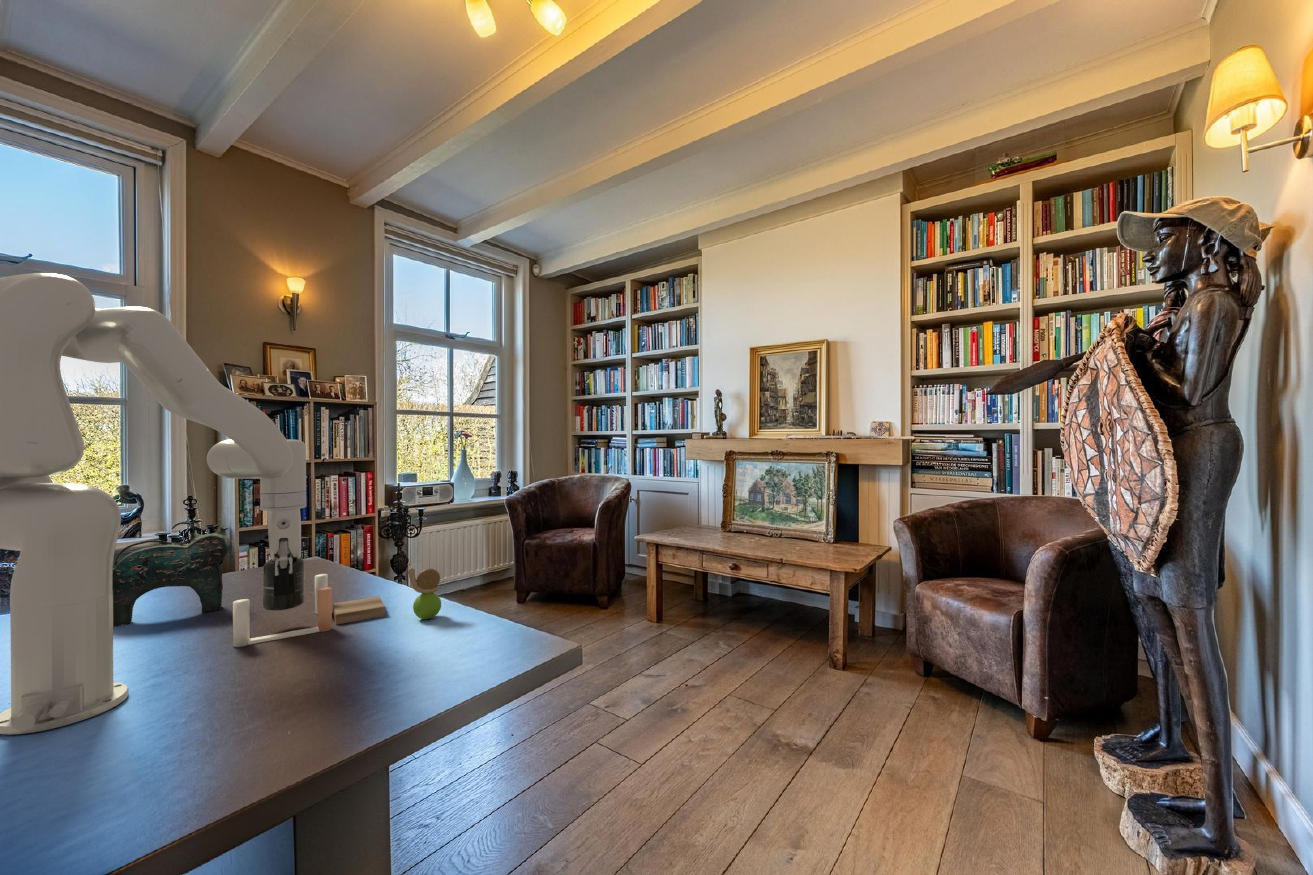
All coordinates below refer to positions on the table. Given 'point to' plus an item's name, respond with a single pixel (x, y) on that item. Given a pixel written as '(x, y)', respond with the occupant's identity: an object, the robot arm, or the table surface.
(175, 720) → the table surface
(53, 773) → the table surface
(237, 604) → the post fence
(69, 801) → the table surface
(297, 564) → the supplement bottle
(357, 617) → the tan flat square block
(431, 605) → the snail figurine
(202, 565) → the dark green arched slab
